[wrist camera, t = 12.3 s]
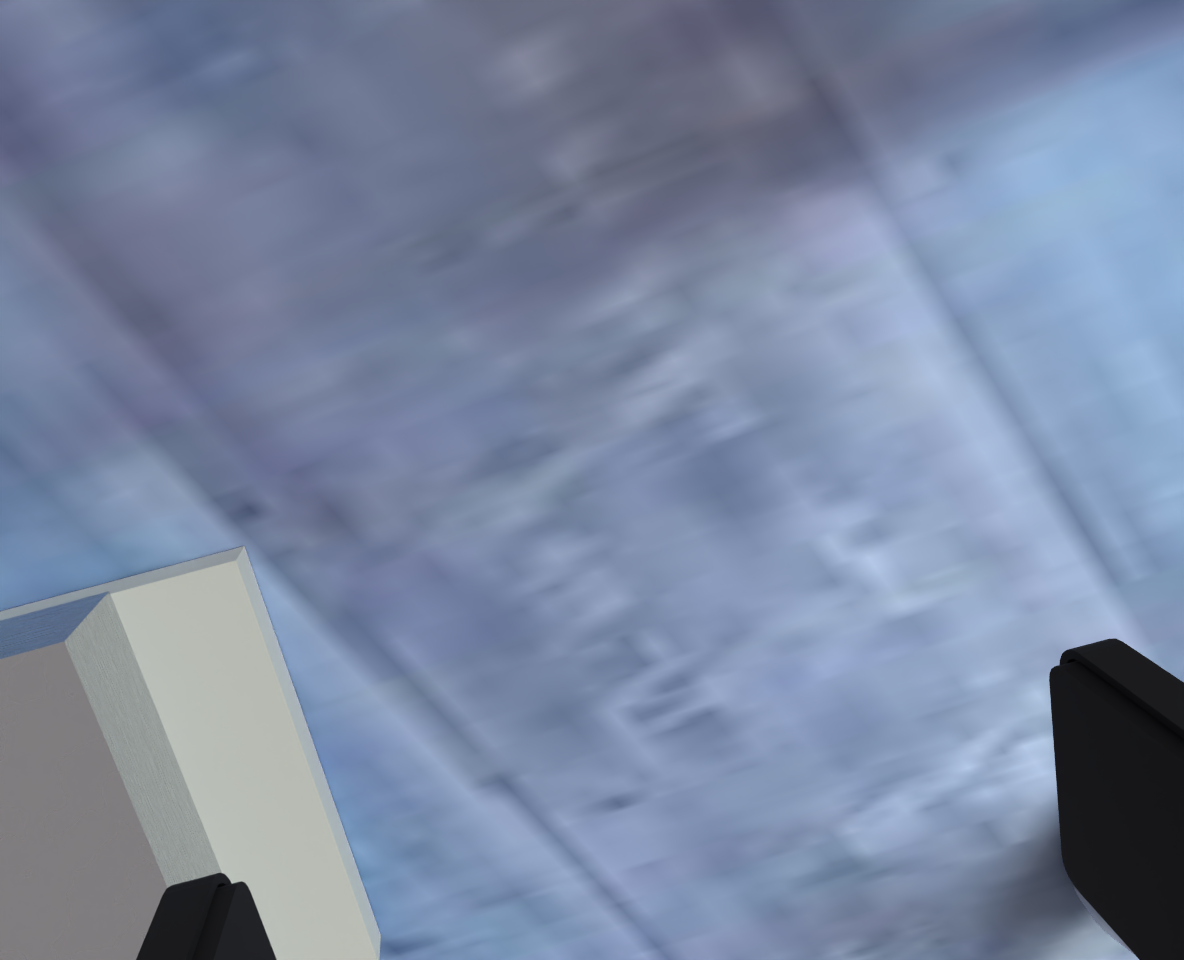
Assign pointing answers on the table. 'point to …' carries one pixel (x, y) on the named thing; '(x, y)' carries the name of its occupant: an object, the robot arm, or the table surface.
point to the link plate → (85, 790)
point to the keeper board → (244, 749)
